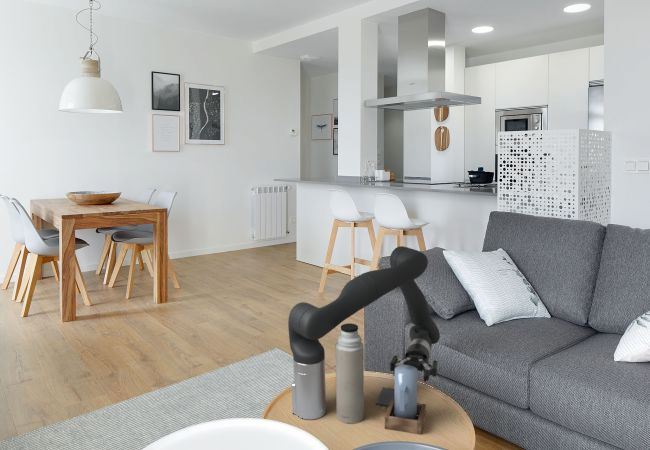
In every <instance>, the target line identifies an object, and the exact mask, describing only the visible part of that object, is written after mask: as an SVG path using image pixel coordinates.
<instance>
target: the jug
mask: <svg viewBox="0 0 650 450" xmlns="http://www.w3.org/2000/svg"><path fill="white" fill-rule="evenodd" d="M418 373H419V371H418V370H417V368H415V367H414V366H411V365H400V366H397V367H396V368H395V376H394V389H395V392H394V414H393V417H399V418H406V419H412V420H418V416H417V403H418V386H419V385H418V379H419V378H418V376H419V375H418Z"/></svg>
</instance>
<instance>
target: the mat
mask: <svg viewBox="0 0 650 450" xmlns="http://www.w3.org/2000/svg"><path fill="white" fill-rule="evenodd" d="M394 392H395V388H393V387H386V386H385V387H382V388H381V390H380V393H379V396H378V398H377V400H376V403H375V404H376V406H382V407H387V408H388V407H389V405H390V402H391V399H394Z"/></svg>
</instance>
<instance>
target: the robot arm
mask: <svg viewBox="0 0 650 450" xmlns="http://www.w3.org/2000/svg"><path fill="white" fill-rule="evenodd" d="M428 260H429V259H428V258H427V255H426V254H425V253H424V252H422V251H420V250H417V249H413V248H411V247H407V246H403V245H402V246H401V245H400V246H397V247H395V248H394V249H393V250H392V251H391V253H390V257H389V265H390V267H387V268H386V267H385V268H380V269H374V270H373V269H372V270H369V271H366V272H364V273H361V274H360V275H357V276H356V277H354V278H352V279H351V280H349V281H348V282H347V283H345V285H344V286H343V288H342V290H341V292H340V294H339V295H338V297H337V298H336V299H335V300H333V301H331V302H330V303H328V304H326V305H323V306H322V307H321V306H320V307H318V306H315V305H313V304H311V303H308V302H305V301H303V302H298V303H296V304H295V305H294V306H293V307H292V308H291V310H290V312H289V315H288V320H287V321H288V322H287V324H288V338H289V346H290V350H291V352H292V359H293V364H292V365H293V382H292V384H291V400H292V401H291V402H292V403H291V407H292V410H291V411H292V414H293V413H294V414H293V415H295V414H296V415H295V416H297V417H298V416H299V417H298V418H300V419H302V418H303V420H316V419H320V418H321V417H323V416H324V415H326V413H327V411H326V410H327V404H326V403H327V400H326V399H327V398H326V397H327V396H326V358H325V356H326V354H325V348H324V346H323V344H322V343H321V342H320V341H319V339H322V338H324V337H325V336H327V334H329V333H330V332H331V331H333V330H334V329H335V328H336V327H338V326H339V325H340V324H341V323H343V322H344V321H346V320H347V319H348V318H350V317H352V316H353V315H354V314H356V313H357V312H359V311H361V310H363V309H364V308H366V307H368V306H369V305H371V304H372V303H374V302H376V301H377V300H379V299H380V298H382V297H383V296H385V295H387V294H389V293H390V292H392V291H394V290H395V289H397V288H400V290H401V293H402V295H403V296H404V297H403V298H404V301H405V304H406V306H407V311H408V315H409V318H410V322H411V323H412V324H413V325H412V326H411V327H410V328H409V338H410V343H409V344H408V347H407V349H406V351H405V354H404V356H403V357H402V358H398V355H393V356H392V359H391V361H390V362H389V370H390V371H391V372H393V373H392V375H393V377H395V368H396V367H397V366H400V365H411V366H414V367H415V368H417V370H418V373H421V375H423V382H427V381H429V379H430V377H431V376H432V377H437V371H438V360H433V361H432V362H429V359H430V357H431V351H432V345H435V344H437V343H438V342H439V341H440V337H441V335H440V334H441V333H440V329H439V328H438V326H437V325H436V324H437V323H435V321H434V319H433V318H432V315H431V313H430V309H429V304H428V301H427V298H426V296H425V295H424V293H423V292H422V290H421V289H420V287H419V285H417V283H416V281H415V280H416V279H418V278H420V277H421V276H422V275H423V274H424V273H425V271H426V269H427V268H428V264H429V261H428Z"/></svg>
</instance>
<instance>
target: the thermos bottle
mask: <svg viewBox="0 0 650 450" xmlns="http://www.w3.org/2000/svg"><path fill="white" fill-rule="evenodd" d="M358 331H359V325H357V324H356V323H350V322H349V323H344V324H342V325H340V334H339V335H338V336H337V342H336V343H335V392H336V393H335V394H336V395H335V396H336V399H335V400H336V401H335V402H336V403H335V404H336V405H335V406H336V418H337V419H338V421H340V422H341V423H345V424H356V423H359V422H361V421H363V419H364V417H365V404H364V403H365V401H364V400H365V399H364V397H365V393H364V385H365V384H364V383H365V381H364V377H365V376H364V373H365V372H364V366H365V365H364V343H363V342H362V338H361V335H360V334H359V332H358Z"/></svg>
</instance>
